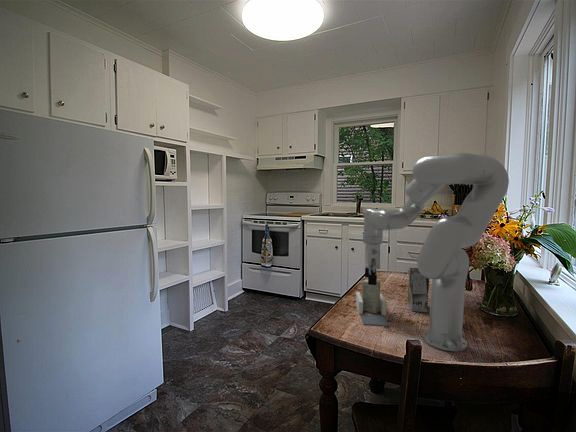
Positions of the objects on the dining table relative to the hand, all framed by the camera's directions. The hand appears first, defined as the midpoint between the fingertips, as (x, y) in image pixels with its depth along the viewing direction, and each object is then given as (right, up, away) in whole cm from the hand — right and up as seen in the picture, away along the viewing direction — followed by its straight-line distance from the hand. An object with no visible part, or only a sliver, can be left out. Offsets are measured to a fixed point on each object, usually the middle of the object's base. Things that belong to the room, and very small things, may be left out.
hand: (370, 280), depth 125 cm
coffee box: (+21, -12, +4) cm, 25 cm away
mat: (-1, -13, -9) cm, 16 cm away
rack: (0, -12, +2) cm, 12 cm away
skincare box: (0, -12, 0) cm, 12 cm away
